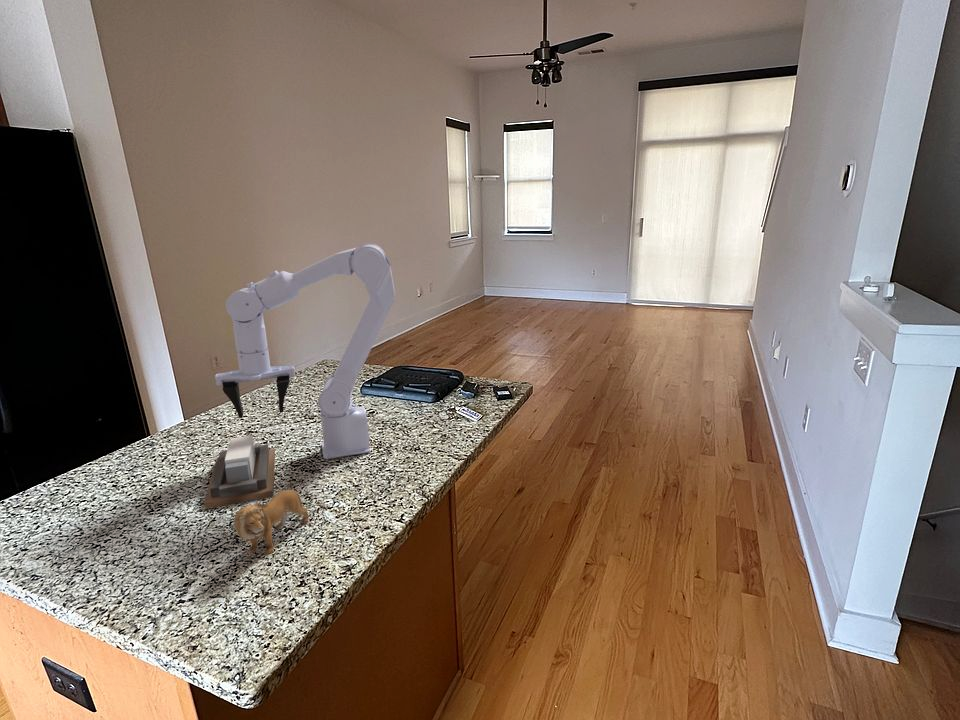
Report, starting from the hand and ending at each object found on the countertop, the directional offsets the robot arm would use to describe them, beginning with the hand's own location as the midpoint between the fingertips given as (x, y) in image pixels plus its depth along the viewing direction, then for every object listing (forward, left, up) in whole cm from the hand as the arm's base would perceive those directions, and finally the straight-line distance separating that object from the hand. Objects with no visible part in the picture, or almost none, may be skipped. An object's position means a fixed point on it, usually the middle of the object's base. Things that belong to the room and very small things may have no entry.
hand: (261, 413), depth 105 cm
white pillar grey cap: (+4, +8, -8) cm, 12 cm away
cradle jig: (+4, +9, -9) cm, 14 cm away
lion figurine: (-2, +32, -10) cm, 34 cm away
